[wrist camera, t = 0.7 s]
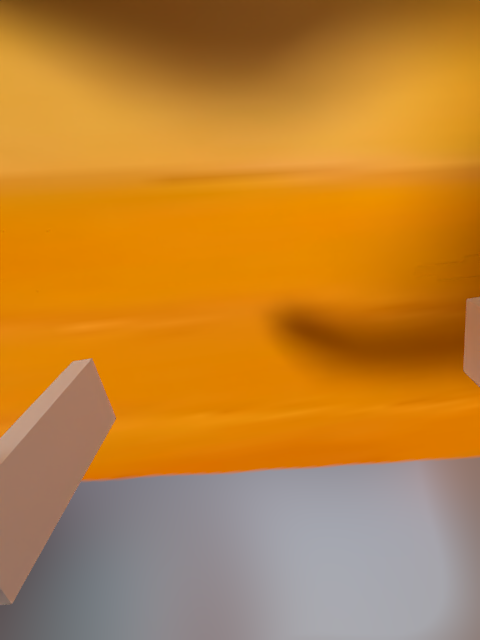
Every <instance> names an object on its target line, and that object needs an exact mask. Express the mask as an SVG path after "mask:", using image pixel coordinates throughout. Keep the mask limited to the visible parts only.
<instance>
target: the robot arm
mask: <svg viewBox="0 0 480 640" xmlns="http://www.w3.org/2000/svg"><path fill="white" fill-rule="evenodd" d="M463 371H464V372H465V373H466V374H467V375H468V376H469V377H470V378H471V379H472V380H473V381H474V382H475V383H476V384H477V385H478V386H479V387H480V297H475V298H469V299H467V301H466V323H465V345H464V367H463ZM115 419H116V417H115V414H114V412H113V409H112V407H111V404H110V402H109V400H108V397H107V395H106V392H105V390H104V387H103V385H102V382H101V380H100V377H99V375H98V372H97V370H96V367H95V365H94V362H93V360H92V358H91V359H85V360H79V361H73V362H72V363H71V364H70V365H69V366H68V367H67V368H66V369H65V370H64V371H63V372H62V373H61V374H60V376H59V377H58V378H57V379H56V380H55V381H54V382H53V383H52V384H51V385H50V386H49V387H48V388H47V389H46V390H45V391H44V392H43V393H42V395H41V396H40V397H39V398H38V399H37V400H36V401H35V402H34V403H33V404H32V405H31V406H30V407H29V408H28V409H27V410H26V411H25V413H24V414H23V415H22V416H21V417H20V418H19V419H18V420H17V421H16V422H15V423H14V424H13V425H12V426H11V427H10V428H9V429H8V431H7V432H6V433H5V434H4V435H3V436H2V437H1V438H0V605H7V604H12V603H13V601H14V599H15V597H16V596H17V594H18V592H19V590H20V588H21V587H22V585H23V583H24V581H25V580H26V578H27V576H28V574H29V572H30V571H31V569H32V567H33V565H34V564H35V562H36V560H37V558H38V556H39V555H40V553H41V551H42V549H43V548H44V546H45V544H46V542H47V540H48V539H49V537H50V535H51V533H52V531H53V530H54V528H55V526H56V524H57V522H58V521H59V519H60V517H61V516H62V513H63V512H64V510H65V508H66V507H67V505H68V503H69V501H70V499H71V498H72V496H73V494H74V492H75V491H76V489H77V487H78V485H79V483H80V482H81V480H82V478H83V476H84V475H85V473H86V471H87V469H88V467H89V466H90V464H91V462H92V460H93V459H94V457H95V455H96V453H97V451H98V450H99V448H100V446H101V444H102V443H103V441H104V439H105V437H106V435H107V434H108V432H109V430H110V428H111V427H112V425H113V423H114V421H115Z"/></svg>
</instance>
